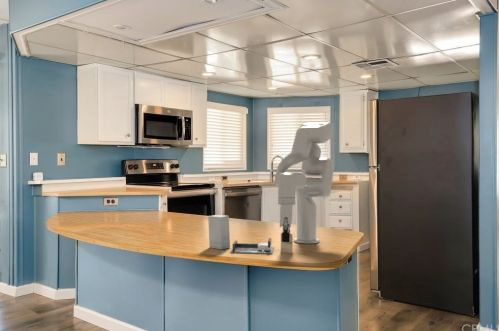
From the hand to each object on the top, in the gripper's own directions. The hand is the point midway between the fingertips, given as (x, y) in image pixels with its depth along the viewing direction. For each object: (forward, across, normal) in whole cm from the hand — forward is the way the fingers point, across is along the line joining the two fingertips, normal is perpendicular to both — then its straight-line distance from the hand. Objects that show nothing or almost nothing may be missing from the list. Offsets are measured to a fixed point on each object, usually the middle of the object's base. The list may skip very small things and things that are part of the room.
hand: (286, 240), depth 187 cm
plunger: (+4, 0, -9) cm, 10 cm away
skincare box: (+6, -5, -31) cm, 32 cm away
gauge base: (+5, -1, -16) cm, 17 cm away
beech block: (+5, -1, 0) cm, 5 cm away
